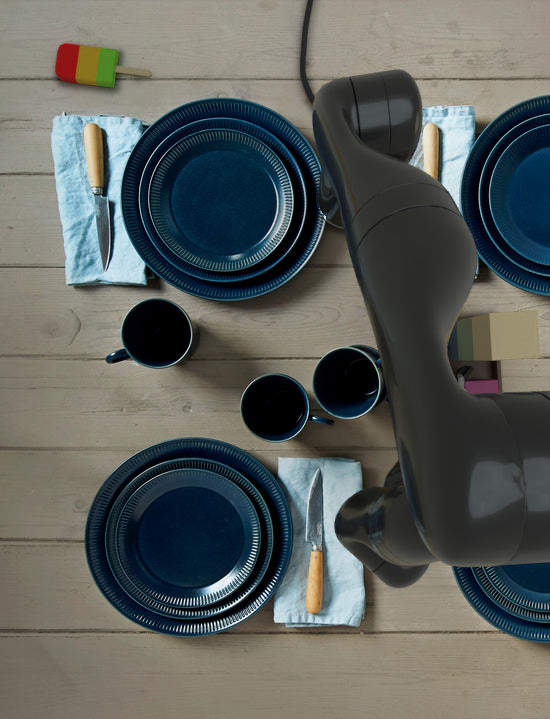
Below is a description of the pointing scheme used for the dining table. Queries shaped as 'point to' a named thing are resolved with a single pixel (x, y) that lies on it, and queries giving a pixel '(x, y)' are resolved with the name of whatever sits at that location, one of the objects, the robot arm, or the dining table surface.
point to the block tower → (495, 337)
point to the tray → (480, 367)
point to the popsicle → (91, 65)
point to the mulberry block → (481, 385)
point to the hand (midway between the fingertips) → (482, 388)
